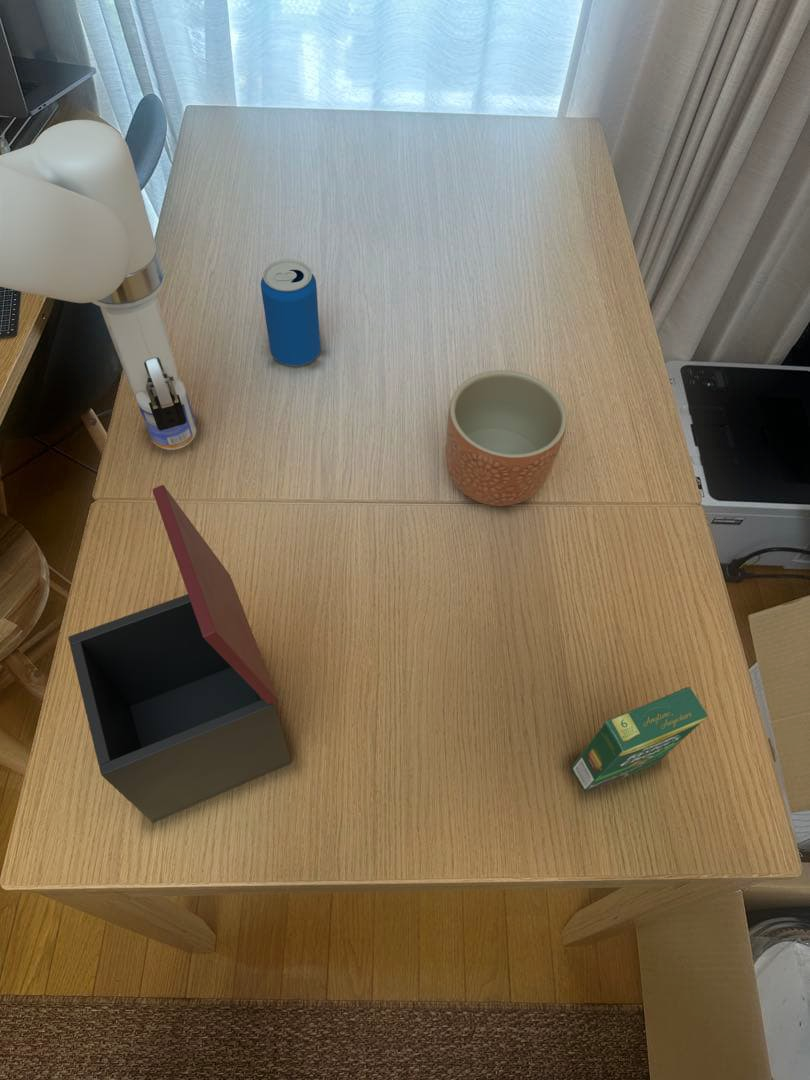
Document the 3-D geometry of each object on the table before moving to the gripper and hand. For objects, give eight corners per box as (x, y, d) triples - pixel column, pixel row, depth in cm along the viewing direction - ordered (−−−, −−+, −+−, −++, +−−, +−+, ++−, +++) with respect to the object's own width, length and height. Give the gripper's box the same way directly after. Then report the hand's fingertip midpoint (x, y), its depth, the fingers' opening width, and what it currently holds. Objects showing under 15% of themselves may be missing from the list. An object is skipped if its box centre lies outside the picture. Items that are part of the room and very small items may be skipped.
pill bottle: (159, 414, 89) (138, 352, 81) (203, 420, 89) (186, 359, 81) (144, 448, 86) (120, 388, 78) (189, 454, 86) (170, 394, 78)
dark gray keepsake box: (153, 823, 64) (100, 775, 51) (121, 705, 69) (67, 636, 57) (291, 763, 67) (274, 705, 55) (251, 655, 73) (226, 579, 60)
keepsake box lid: (202, 637, 42) (215, 631, 42) (151, 488, 48) (163, 483, 48) (268, 705, 54) (278, 700, 54) (221, 579, 60) (230, 575, 60)
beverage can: (323, 368, 94) (318, 290, 84) (272, 372, 94) (260, 294, 84) (318, 333, 98) (312, 254, 88) (269, 337, 97) (257, 258, 87)
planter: (419, 482, 85) (425, 417, 76) (479, 420, 91) (491, 352, 81) (509, 539, 81) (527, 478, 72) (566, 470, 87) (590, 405, 78)
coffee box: (581, 797, 66) (623, 752, 55) (566, 767, 68) (604, 717, 57) (658, 765, 68) (713, 716, 57) (642, 737, 70) (693, 683, 59)
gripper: (60, 226, 72) (114, 365, 87) (98, 339, 63) (151, 471, 78) (137, 209, 74) (177, 348, 89) (185, 317, 65) (220, 450, 80)
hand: (164, 405), depth 83 cm, fingers closed on pill bottle, 5 cm apart
